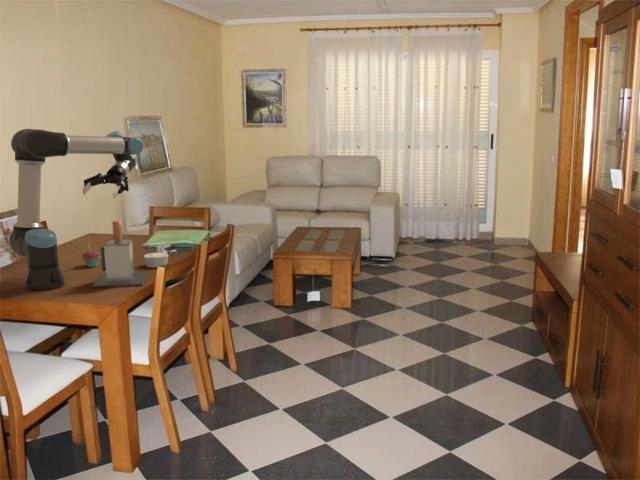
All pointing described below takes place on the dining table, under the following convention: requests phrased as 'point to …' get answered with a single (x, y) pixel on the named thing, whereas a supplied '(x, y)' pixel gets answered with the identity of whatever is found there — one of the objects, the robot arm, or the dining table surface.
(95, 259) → the cupcake
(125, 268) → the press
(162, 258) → the ramekin
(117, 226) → the salmon orange cylinder
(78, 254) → the dining table surface
